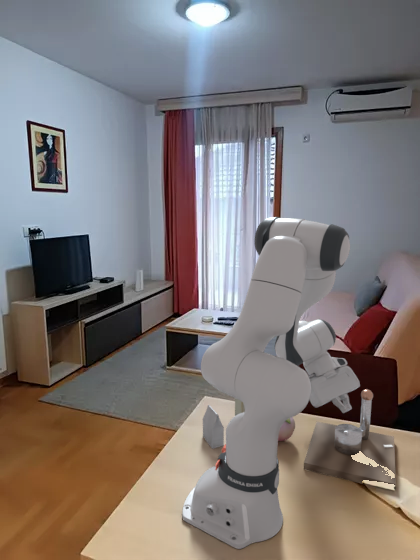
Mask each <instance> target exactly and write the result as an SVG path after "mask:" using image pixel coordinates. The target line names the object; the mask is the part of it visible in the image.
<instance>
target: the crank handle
mask: <svg viewBox="0 0 420 560" xmlns="http://www.w3.org/2000/svg"><path fill="white" fill-rule="evenodd" d="M360 397H361V406H360V421H359V422H360V423H359V427H358V426H357V425H354V424H350V423H340V424H337V426H336V427H335V441H334V446H335V448H336V449H337V450H338V451H339V452H341V453H344V454H348V455H355V454H357V453H359V451H361V441H362V439H365V440H367V439H369V432H370V428H371V415H372V413H371V412H372V403H373V401H372V400H373V398H374V393H373V392H372V390H370V389H368V388H366V389H363V390H362V391H361V393H360Z"/></svg>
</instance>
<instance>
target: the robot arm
mask: <svg viewBox="0 0 420 560" xmlns="http://www.w3.org/2000/svg"><path fill="white" fill-rule="evenodd" d="M254 248H255V251H256V252H257V255H258V259H257V260H256V262H255V265H254V269H253V271H252V275H251V278H250V283H249V285H248V290H247V293H246V296H245V299H244V303H243V306H242V308H241V311H240V313H239V316H238V318H237V320H236V321H235V323H234V325H233V326H232V327H231V329H230V330H229V331H228V333H227V334H226V335H225V336H224V337H223V338H222V339H220V340H218V341H216V342H214V343H212V344H211V345H209V346H208V347H207V348H206V350H205V351H204V353H203V355H202V357H201V362H200V373H201V376H202V378H203V379H204V380H205V381H206V382H207V383H209V385H210V386H212V387H213V388H214V389H216V390H217V391H219V392H221V393H223V394H225V395H227V396H229V397H231V398H234V399H235V398H236V399H238V400H240V401H242V402H243V404H244V407H245V412H243V413H240V414H238V415H236V416H235V415H234V416H233V417H232V418H231V419H230V421H229V423H228V424H227V426H226V429H225V443H224V446H222V448H221V453H220V454H219V456H218V458H217V461H216V463H215V465H214V466H211V467H209V468H208V469H207V470H205V471H204V472H203V473H202V475H201V476H200V477H199V479H198V481H197V482H196V485H195V486H194V487H193V488H192V489H191V490H190V492H189V494H188V495H187V497H186V498H185V500H184V503H183V506H182V511H181V512H182V513H181V515H182V519H183V521H184V522H186V523H187V524H189V525H192V526H194V527H195V528H198V529H199V530H201V531H203V532H205V533H206V534H207V535H211V536H212V537H214V538H216V539H218V540H220V541H221V542H223V543H226V544H227V545H229V546H231V547H233V548H235V549H239V550H240V549H243V548H244V549H245V548H246V547H248V546H249V545H251V544H254V543H258V542H263V541H266V540H269V539H271V538H273V537H274V536H275V535H277V533H278V532H279V531H280V530H281V528H282V526H283V523H284V518H283V517H284V516H283V513H282V509H281V505H280V499H279V493H278V489H279V483H280V469H279V467H280V465H279V459H278V447H279V446H278V444H279V443H278V442H279V441H278V436H279V431H280V428H281V426H282V424H283V423H284V422H285V421H286V420H287V419H289V418H291V417H293V418H294V417H295V416H297V415H299V414H300V413H302V411H304V409H305V408H306V407H307V405H308V403H309V402H310V404H311V405H312V406H313V407H314V408H319V407H322V406H323V405H326V404H328V403H330V402H332V403H333V405H334V406H336V407H337V408H338V409H339V410H340V411H341V413H342V414H345V413H347V412H349V411H351V410H352V409H353V407H352V405H351V403H350V397H349V394H348V393H351V392H353V391H355V390H357V389H358V388H360V387H361V384H360V382H361V381H360V380H359V378H358V376H357V375H356V374H355V372H354V370H353V369H352V368H351V367H350V366H349V365H348V361H347V360H346V358H343V357H334V356H331V354H330V353H329V352H328V350H329V349H331V348H333V346H334V345H335V343H336V339H337V334H336V332H335V330H334V327H333V326H332V325H331V324H330V323H329V322H327V321H326V320H324V319H320V318H318V319H314V320H311V321H306V320H301V318H302V317H303V315H304V314H305V313H306V312H307V311H308V310H310V308H311V307H312V306H314V305H315V304H317V303H318V302H320V301H321V300H322V299H324V298H325V297H326V296H328V295H329V294H330V293H331V291H332V290H333V288H334V284H335V281H336V275H337V274H336V271H338V270H339V269H341V268H342V267H343V266H345V265H344V264H345V263H346V261H347V259H348V257H349V255H350V251H351V242H350V235H349V233H348V232H347V231H346V229H345V228H344V227H341V226H339V225H337V224H336V225H335V224H331V223H330V224H326V223H323V222H318V221H313V220H306V219H305V218H295V217H294V218H293V217H289V218H287V217H284V218H283V217H280V216H275V217H274V216H272V217H266V218H264V219H263V220H262V221H261V222H260V223H259V224H258V226H257V228H256V230H255V234H254ZM274 338H275V341H274V351H275V354H276V355H273V354H271V353H267V352H265V351H266V348H267V346H268V344H270V342H271V340H273V339H274ZM302 364H303V367H304V368H301V367H300V365H302ZM304 369H305V370H304Z"/></svg>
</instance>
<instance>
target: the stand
mask: <svg viewBox="0 0 420 560" xmlns="http://www.w3.org/2000/svg"><path fill="white" fill-rule="evenodd" d="M337 425H338V424H337ZM337 425H336V424H333V423H327V422H321V421H316V422H315V425H314V429H313V431H312V434H311V438H310V441H309V445H308V447H307V451H306V455H305V457H304V461H303V470H305V471H308V472H313V473H316V474H321V475H326V476H330V477H334V478H336V479H337V478H339V479H341V480H346V481H348V482H349V481H350V482H354V483H359V484H362V485H364V484H363V483H362V481H363V480H369V481H377V482H384V483H388V484H394V485H396V484H397V480H396V479H397V478H392V479H391V476H388V475H389V474H388V472H387V471H388V470H387V471H385V470H384V468H382V467H381V466H384V467H387V468H388V469H389V470H391V471H392V472H393V473H394V474H395V475H396V454H395V452H396V451H395V436H393V435H389V434H383V433H377V432H373V431H369V439H367V440H365V439H362V441H361V452H362V453H363V454H364V455H365V456H366V457H368V458H370V459H372V460H374V461H375V462H376V463H377V464H379V466H377V467H373V466H372V465H371V464H370V463H369V465H366V464H363V463H360V462H357V461H355V460H353V459H352V457H351V455H348V454H344V453H341V452H339V451H338V450H337V449H336V448H335V446H334V441H335V427H336V426H337ZM383 445H392V446H393V448H384V446H383ZM370 465H371V466H370ZM380 465H381V466H380ZM382 471H383V472H382ZM386 472H387V473H386ZM385 474H388V475H385ZM396 486H397V485H396Z"/></svg>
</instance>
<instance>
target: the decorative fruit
mask: <svg viewBox="0 0 420 560" xmlns="http://www.w3.org/2000/svg"><path fill="white" fill-rule="evenodd" d="M295 429H296V421H295V419H294V417H291V418H289V419H287V420H286V421H285V422H284V423H283V424H282V426H281V428H280V431H279V436H278V442H281V441H287V440H288V439H290V438H291V437H292V435H293V434H294V432H295Z"/></svg>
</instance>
